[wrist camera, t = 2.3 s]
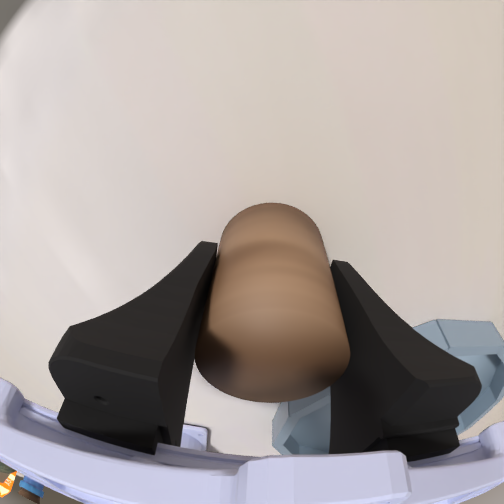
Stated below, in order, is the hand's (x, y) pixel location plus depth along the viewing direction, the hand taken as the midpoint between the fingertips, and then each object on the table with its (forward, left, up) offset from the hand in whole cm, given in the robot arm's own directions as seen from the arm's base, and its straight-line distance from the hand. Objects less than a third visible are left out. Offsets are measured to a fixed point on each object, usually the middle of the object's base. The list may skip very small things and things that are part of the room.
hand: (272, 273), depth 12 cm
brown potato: (0, 0, -2) cm, 2 cm away
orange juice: (-124, +90, -2) cm, 153 cm away
